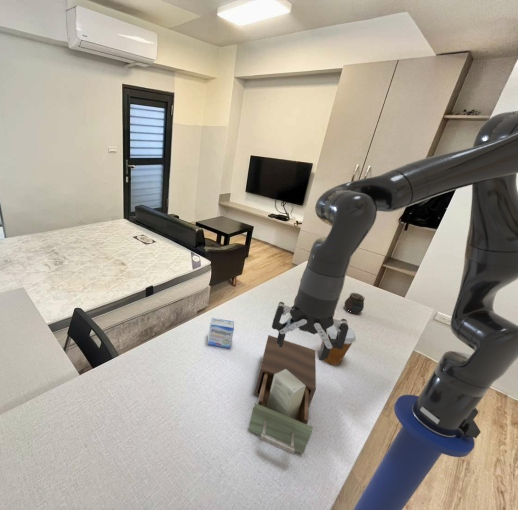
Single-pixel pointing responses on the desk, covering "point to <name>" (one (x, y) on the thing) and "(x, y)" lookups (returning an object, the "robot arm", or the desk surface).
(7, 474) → the desk surface
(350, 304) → the mate gourd
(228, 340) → the medicine box
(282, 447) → the drawer
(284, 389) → the cosmetic box
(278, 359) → the cabinet
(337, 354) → the disposable coffee cup
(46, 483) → the desk surface
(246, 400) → the desk surface
